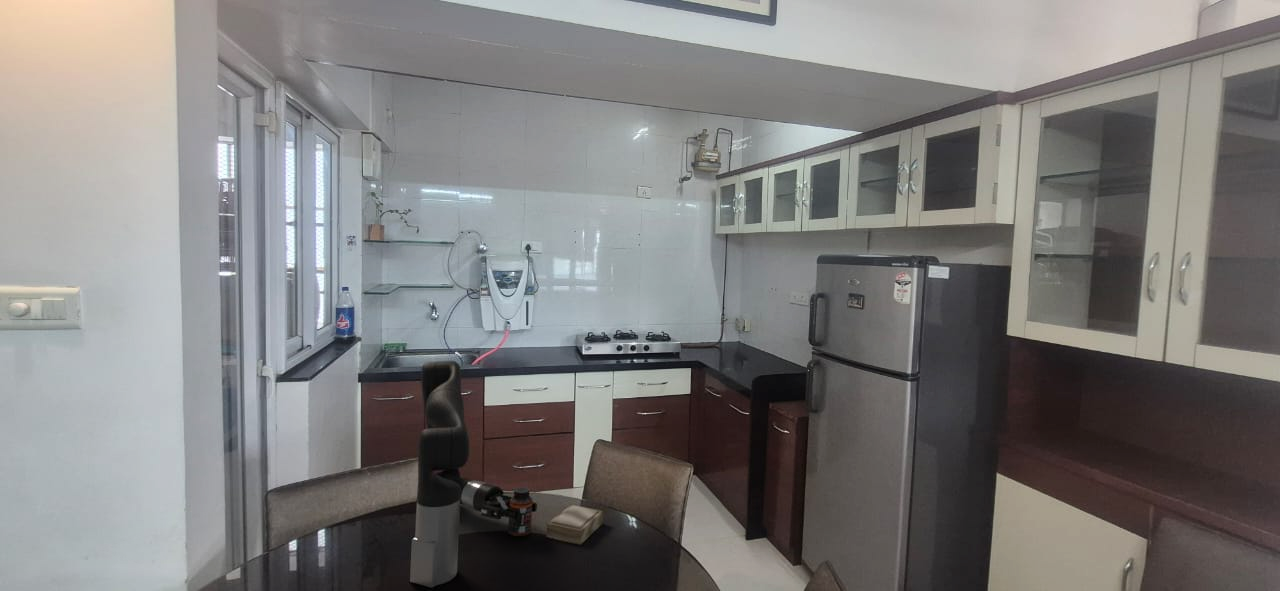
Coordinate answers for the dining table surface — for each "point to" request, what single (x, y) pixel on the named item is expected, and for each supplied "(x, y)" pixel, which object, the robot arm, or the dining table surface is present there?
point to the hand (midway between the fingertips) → (527, 511)
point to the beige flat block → (574, 524)
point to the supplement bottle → (521, 512)
